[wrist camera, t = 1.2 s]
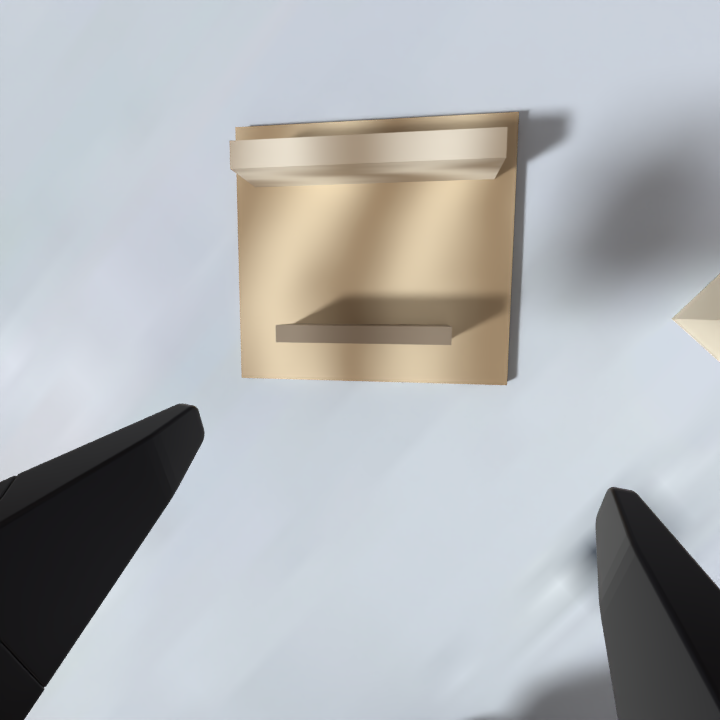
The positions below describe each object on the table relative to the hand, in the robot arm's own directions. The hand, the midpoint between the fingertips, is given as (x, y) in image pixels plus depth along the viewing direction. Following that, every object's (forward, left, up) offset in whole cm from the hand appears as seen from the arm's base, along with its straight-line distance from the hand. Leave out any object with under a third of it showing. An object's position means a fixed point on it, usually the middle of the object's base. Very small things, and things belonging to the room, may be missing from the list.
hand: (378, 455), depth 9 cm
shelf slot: (+5, -3, -14) cm, 15 cm away
